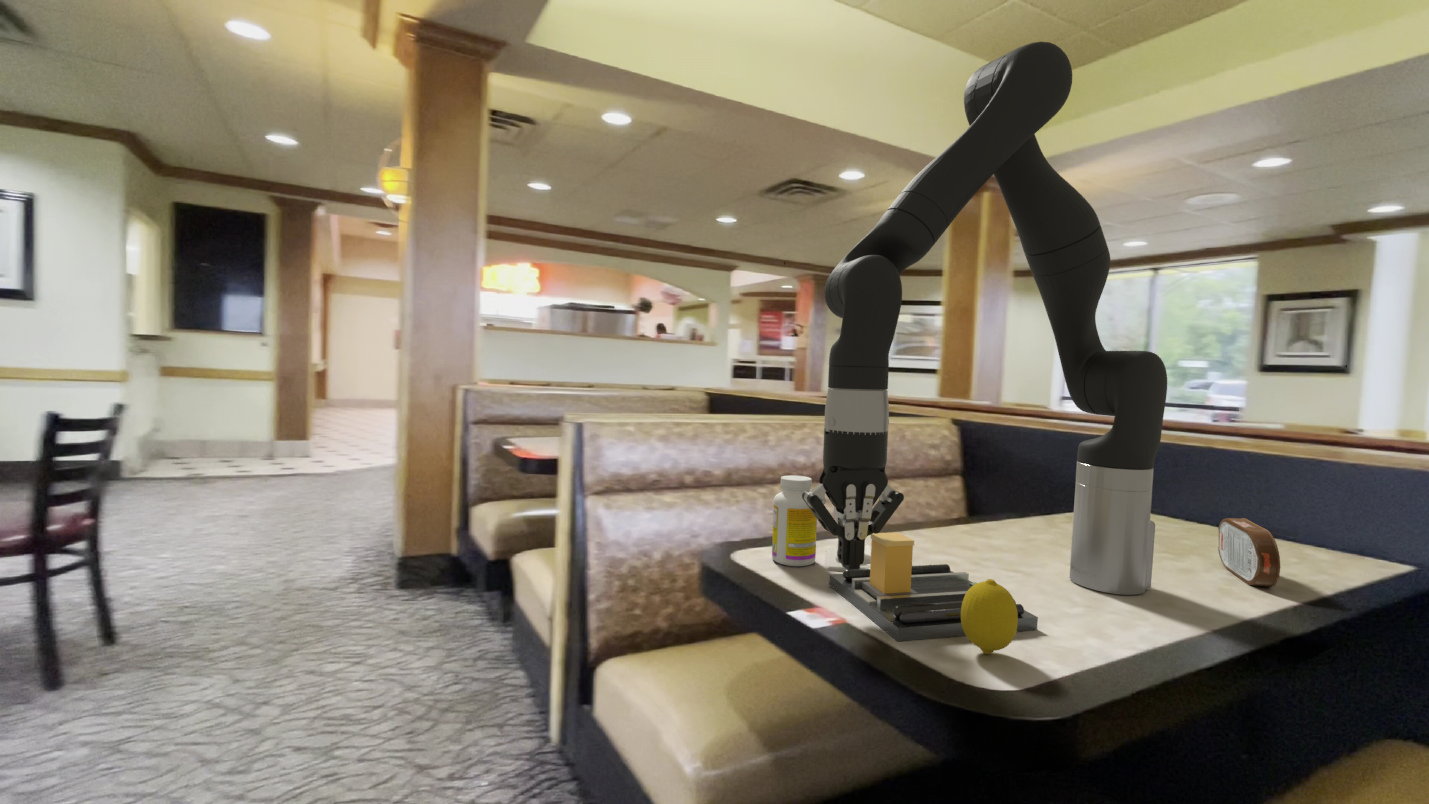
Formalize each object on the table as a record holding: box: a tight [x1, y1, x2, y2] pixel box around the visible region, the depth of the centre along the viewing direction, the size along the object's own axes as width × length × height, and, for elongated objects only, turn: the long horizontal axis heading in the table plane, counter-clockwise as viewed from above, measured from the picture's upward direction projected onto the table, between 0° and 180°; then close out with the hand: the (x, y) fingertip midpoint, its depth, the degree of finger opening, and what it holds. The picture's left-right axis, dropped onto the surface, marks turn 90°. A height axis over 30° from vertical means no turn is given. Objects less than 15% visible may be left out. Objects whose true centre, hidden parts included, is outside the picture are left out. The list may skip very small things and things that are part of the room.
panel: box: [828, 563, 1039, 642], centre depth 80 cm, size 18×18×3 cm
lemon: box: [961, 578, 1018, 655], centre depth 67 cm, size 6×6×8 cm
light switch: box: [824, 544, 871, 573], centre depth 98 cm, size 11×4×13 cm
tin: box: [1217, 517, 1281, 588], centre depth 96 cm, size 15×3×8 cm, turn 160°
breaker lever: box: [862, 531, 918, 599], centre depth 79 cm, size 5×5×7 cm
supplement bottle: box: [771, 474, 818, 567], centre depth 97 cm, size 7×7×13 cm
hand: (850, 567), depth 78 cm, fingers closed
